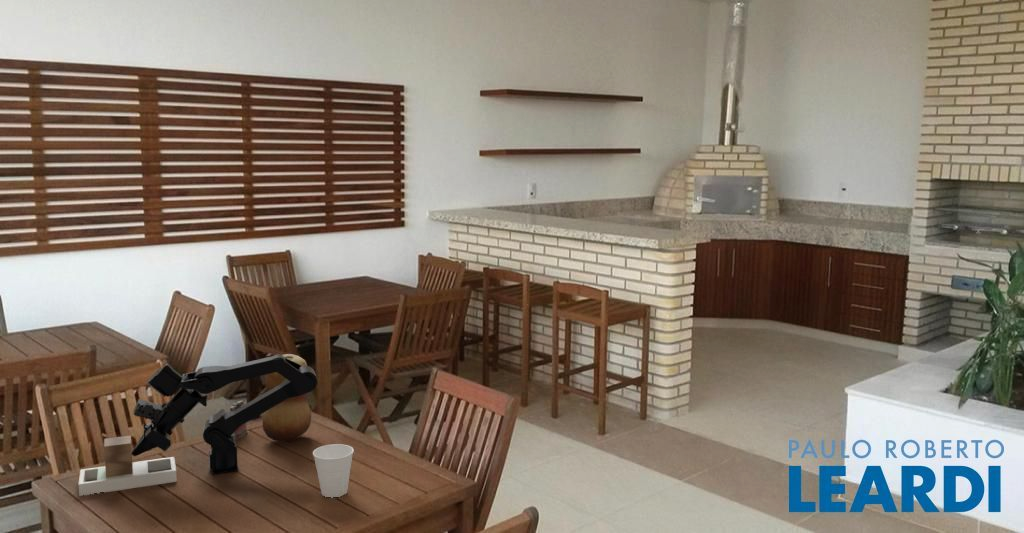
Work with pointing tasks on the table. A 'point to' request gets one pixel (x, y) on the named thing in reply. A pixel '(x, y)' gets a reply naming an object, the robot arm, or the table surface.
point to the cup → (333, 468)
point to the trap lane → (128, 477)
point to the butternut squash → (286, 410)
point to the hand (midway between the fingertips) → (133, 454)
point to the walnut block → (118, 456)
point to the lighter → (242, 429)
